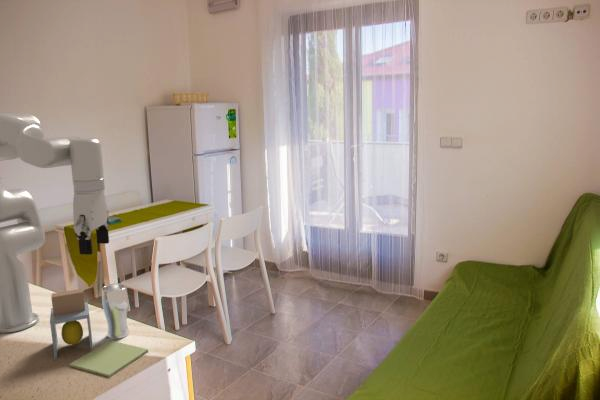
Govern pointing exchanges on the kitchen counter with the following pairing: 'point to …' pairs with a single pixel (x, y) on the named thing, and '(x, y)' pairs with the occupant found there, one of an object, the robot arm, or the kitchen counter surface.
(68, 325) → the lemon
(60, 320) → the cover
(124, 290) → the beer glass
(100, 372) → the mat
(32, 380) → the kitchen counter surface
